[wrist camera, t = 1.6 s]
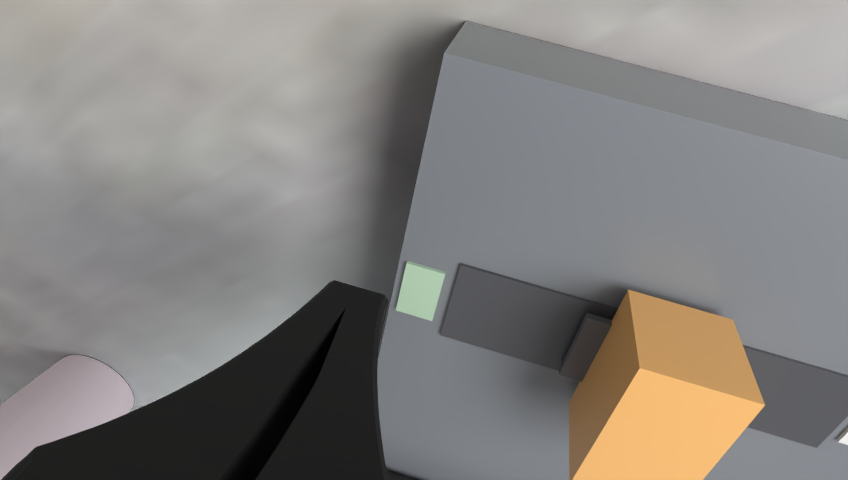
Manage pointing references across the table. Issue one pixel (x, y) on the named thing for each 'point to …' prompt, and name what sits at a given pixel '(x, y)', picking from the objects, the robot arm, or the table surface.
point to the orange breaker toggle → (656, 392)
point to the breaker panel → (608, 256)
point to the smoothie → (60, 406)
